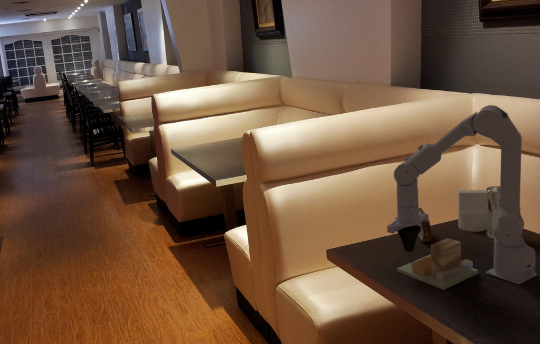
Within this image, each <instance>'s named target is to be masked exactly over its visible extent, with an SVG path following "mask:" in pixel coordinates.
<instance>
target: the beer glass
mask: <svg viewBox="0 0 540 344" xmlns="http://www.w3.org/2000/svg"><path fill="white" fill-rule="evenodd" d="M485 190H486V198H485V207H486V214H487V219H488V229H486V237H487V238H490V239H493V240H494V238H495V236H494V231H495V228H496V227H497V225H498V220H499V211H500V185H496V186H488V187H486V188H485Z"/></svg>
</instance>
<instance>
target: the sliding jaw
mask: <svg viewBox="0 0 540 344" xmlns="http://www.w3.org/2000/svg"><path fill="white" fill-rule="evenodd" d="M425 257H426V256H425ZM420 259H421V258H420ZM412 272H414V273H417V274H420V275H422V276H426V275H428V274H430V273H431V256H429V257H426V258H424V259H421V260H419V261H417V262H414V263H412Z"/></svg>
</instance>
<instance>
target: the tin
mask: <svg viewBox="0 0 540 344" xmlns="http://www.w3.org/2000/svg"><path fill="white" fill-rule="evenodd" d="M421 213H425V214H426V212H425V211H424V210H423V209H422V207H419V214H421ZM417 225H418V226H421V231H420V233H419V234H418V237H417V238H418V239H419V241H421V242H423V243H424V242H431V241H432V226H431V223H430V219H429V218H428V221H423V222H420V223H419V224H417Z"/></svg>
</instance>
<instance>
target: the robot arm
mask: <svg viewBox="0 0 540 344" xmlns="http://www.w3.org/2000/svg"><path fill="white" fill-rule="evenodd" d="M477 134H478V135H480V136H482V137H485V138H488V139H491V140H492V141H494V143H496V144H497V145H498V146H500V178H499V179H500V181H499V182H500V183H499V186H500V211H499V220H498V225H497V227H496V228H495V231H494V236H495V238H494V239H493V268H491V269H489V270H486V274H487V275H489V276H493V277H496V278H498V279H502V280H504V281H508V282H510V283H514V284H516V285H521V284H523V283H526V281H529V280H530V279H532V278H535V277H536V276H537V275H538V274H537V273H536V257H537V256H536V255H537V254H536V251H535V248H533V247H531V246H529V245H528V244H526V241H525V239H524V238H523V235H522V234H523V229H524V227H525V221H524V218H523V216H522V215H521V213H522V212H521V210H522V209H521V178H522V177H521V176H522V175H521V173H522V171H521V170H522V143H523V142H522V141H523V140H522V134H521V132H520V131H519V130H518V129H517V127H516V125H515V124H514V123H513V121H512V120H511V118H510V116H509V114H508V112H506V111H504V109H502V108H500V107H499V106H497V105H491V104H490V105H486V106H484V107H482V108H481V109H480V110H479V111H476V112H474V113H472V114H471V115H469V116H467V117H466V118H464V119H463V120H462V121H460V122H459V123H457V125H455V126H454V127H453V128H452V129H451V130H449V131H448V132H447V133H446V134H445V135H443V136H441V138H440V139H438V140H437V141H436V142H435V143H425V144H421V145H419V146H418V147H417V149H418V150H417V151H415V152H414V153H413V154H411V155H410V156H406V157H405V158H404V161H403V162H401V163H400V164H398V165H397V167H396V168H395V169H394V171H393V178H394V180H395V182H396V205H397V206H396V207H397V208H396V209H397V212H396V213H397V216H396V217H395V220H394V221H393V222H391V223H390V224H388V225H387V226H386V228H387V230H386V231H387V233H389V234H396V232H397V234H398V236H399V238H400V239H401V242H402V245H403V250H404V251H405V252H408V253H412V252H414V250H415V246H416V241H417V239H418V238H419V237H418V234H419V233H420V231H421V226H418V225H417V224H419V223H420V222H423V221H428V219H429V214H428V213H426V212H425V213H421V214H419V208H420V207H419V187H418V178H419V177H420V175H423V174H425V173H426V172H427V171H429V170H430V169H431V168H432V167H434V166H435V165H436V164H438V163H439V162H440V161H441V160H442V154H443V153H444V152H445V151H446V150H448V149H449V148H450V147H452V146H454V145H455V144H456V143H458V142H459V141H460V140H462V139H463V138H465V137H475V136H476V135H477Z"/></svg>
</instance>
